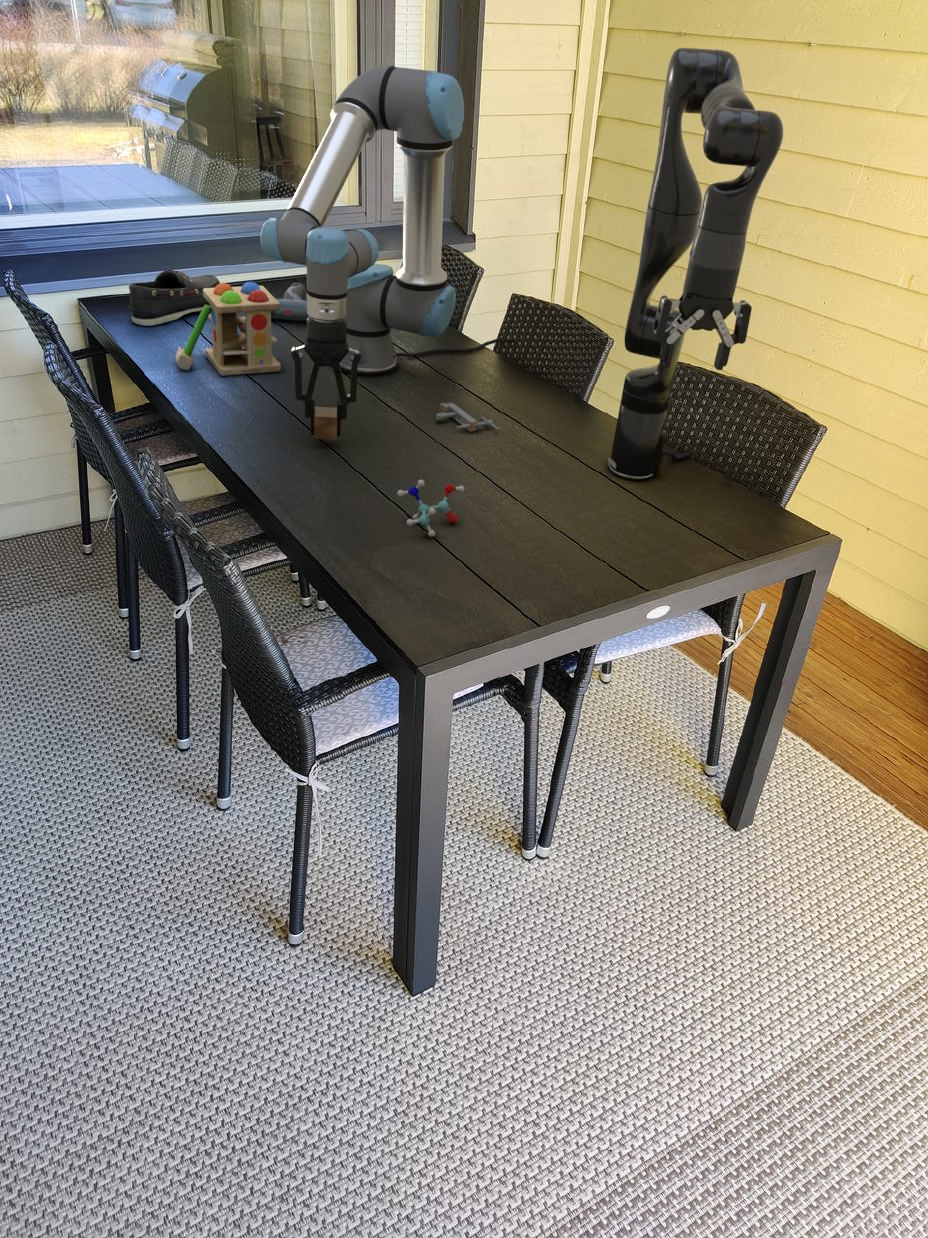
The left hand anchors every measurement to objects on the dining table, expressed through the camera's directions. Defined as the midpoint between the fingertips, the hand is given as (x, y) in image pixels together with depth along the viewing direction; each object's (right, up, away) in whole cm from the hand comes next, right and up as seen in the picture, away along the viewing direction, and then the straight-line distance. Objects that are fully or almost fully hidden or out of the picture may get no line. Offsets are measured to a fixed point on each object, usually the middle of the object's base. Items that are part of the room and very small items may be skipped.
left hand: (325, 432), depth 197 cm
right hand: (+64, +2, -44) cm, 77 cm away
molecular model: (+21, -21, -22) cm, 37 cm away
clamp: (+28, +5, +16) cm, 32 cm away
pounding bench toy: (-28, +22, +33) cm, 49 cm away
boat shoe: (-48, +45, +63) cm, 91 cm away
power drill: (-15, +46, +70) cm, 85 cm away
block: (0, 0, 0) cm, 0 cm away
